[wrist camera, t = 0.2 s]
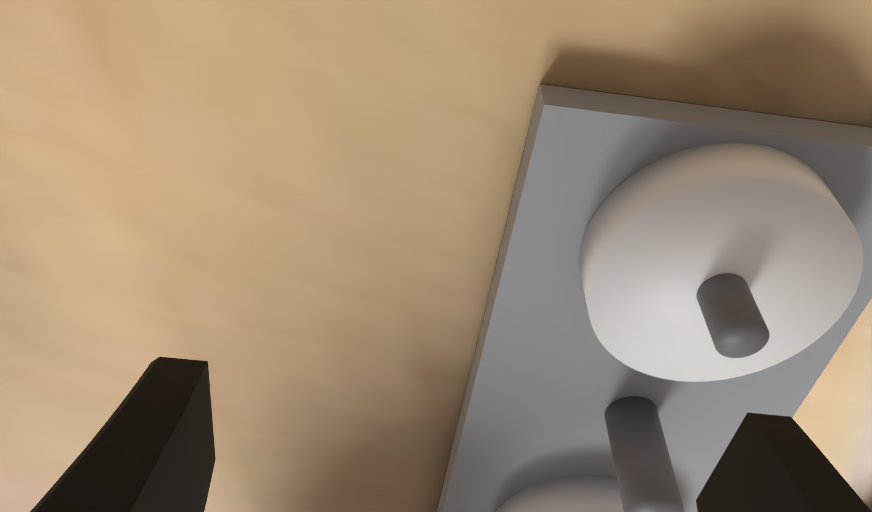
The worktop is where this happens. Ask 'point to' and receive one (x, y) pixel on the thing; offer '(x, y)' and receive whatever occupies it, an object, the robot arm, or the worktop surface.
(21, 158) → the worktop surface
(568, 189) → the gear board
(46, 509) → the robot arm
